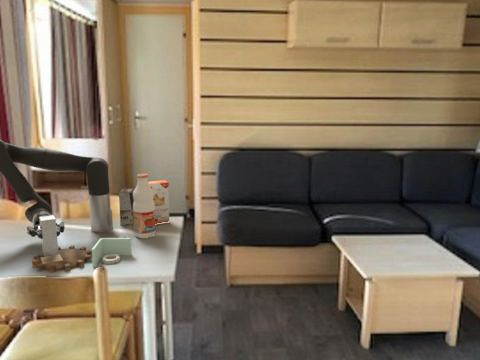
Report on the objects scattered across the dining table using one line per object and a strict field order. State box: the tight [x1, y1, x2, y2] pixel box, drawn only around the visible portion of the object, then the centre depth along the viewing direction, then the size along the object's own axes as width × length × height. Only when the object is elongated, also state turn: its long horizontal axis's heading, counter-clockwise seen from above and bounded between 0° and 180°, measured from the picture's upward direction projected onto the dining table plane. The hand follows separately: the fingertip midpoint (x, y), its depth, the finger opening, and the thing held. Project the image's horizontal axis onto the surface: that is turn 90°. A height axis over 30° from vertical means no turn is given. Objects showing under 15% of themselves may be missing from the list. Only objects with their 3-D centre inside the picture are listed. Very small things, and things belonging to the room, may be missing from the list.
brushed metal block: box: [39, 214, 59, 256], centre depth 168 cm, size 5×5×14 cm
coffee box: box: [118, 187, 136, 226], centre depth 217 cm, size 9×6×16 cm
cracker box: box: [148, 179, 170, 224], centre depth 214 cm, size 14×6×21 cm, turn 119°
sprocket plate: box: [31, 244, 92, 273], centre depth 173 cm, size 22×22×2 cm
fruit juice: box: [133, 173, 157, 239], centre depth 198 cm, size 9×9×28 cm
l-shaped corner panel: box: [91, 237, 132, 268], centre depth 173 cm, size 12×12×8 cm
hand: (49, 235), depth 166 cm, fingers closed on brushed metal block, 5 cm apart
